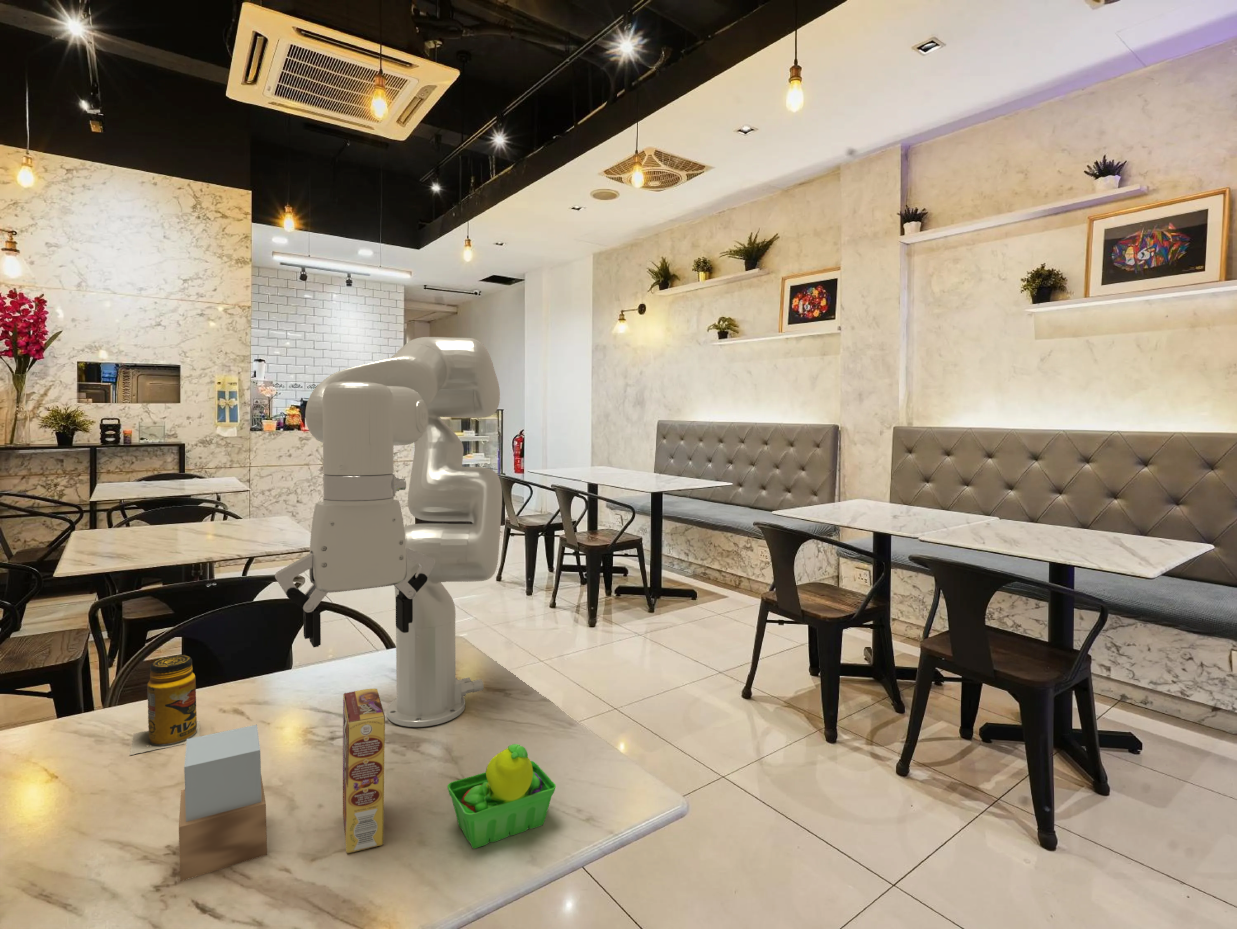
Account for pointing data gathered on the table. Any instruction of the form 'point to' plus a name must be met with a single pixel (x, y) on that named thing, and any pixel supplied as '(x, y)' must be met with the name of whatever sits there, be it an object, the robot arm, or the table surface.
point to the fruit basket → (502, 798)
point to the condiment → (169, 705)
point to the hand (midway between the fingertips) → (360, 636)
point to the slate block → (222, 772)
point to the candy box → (363, 769)
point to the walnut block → (221, 838)
